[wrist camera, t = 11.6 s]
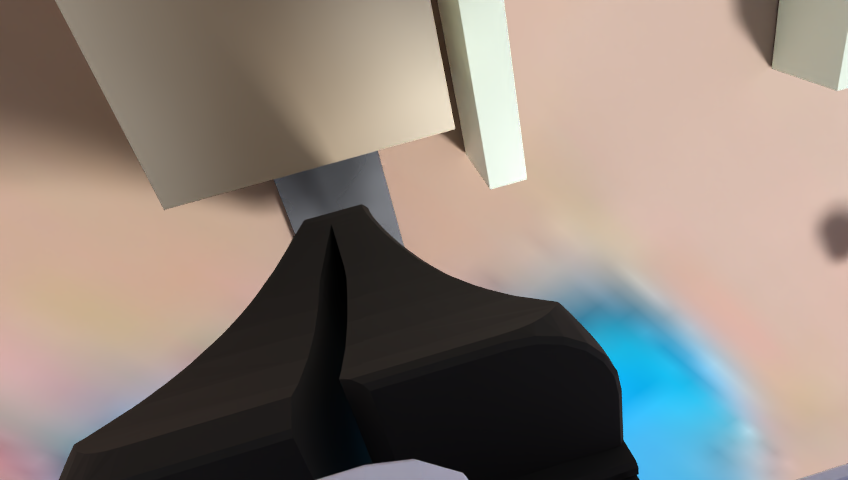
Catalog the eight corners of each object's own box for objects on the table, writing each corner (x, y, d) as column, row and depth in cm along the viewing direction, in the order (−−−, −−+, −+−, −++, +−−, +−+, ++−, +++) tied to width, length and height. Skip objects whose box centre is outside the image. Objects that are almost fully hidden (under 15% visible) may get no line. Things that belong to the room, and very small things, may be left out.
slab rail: (319, -409, 9) (326, -497, 7) (478, 333, 16) (502, 388, 15) (-30, -332, 8) (-123, -402, 6) (302, 386, 16) (303, 448, 14)
